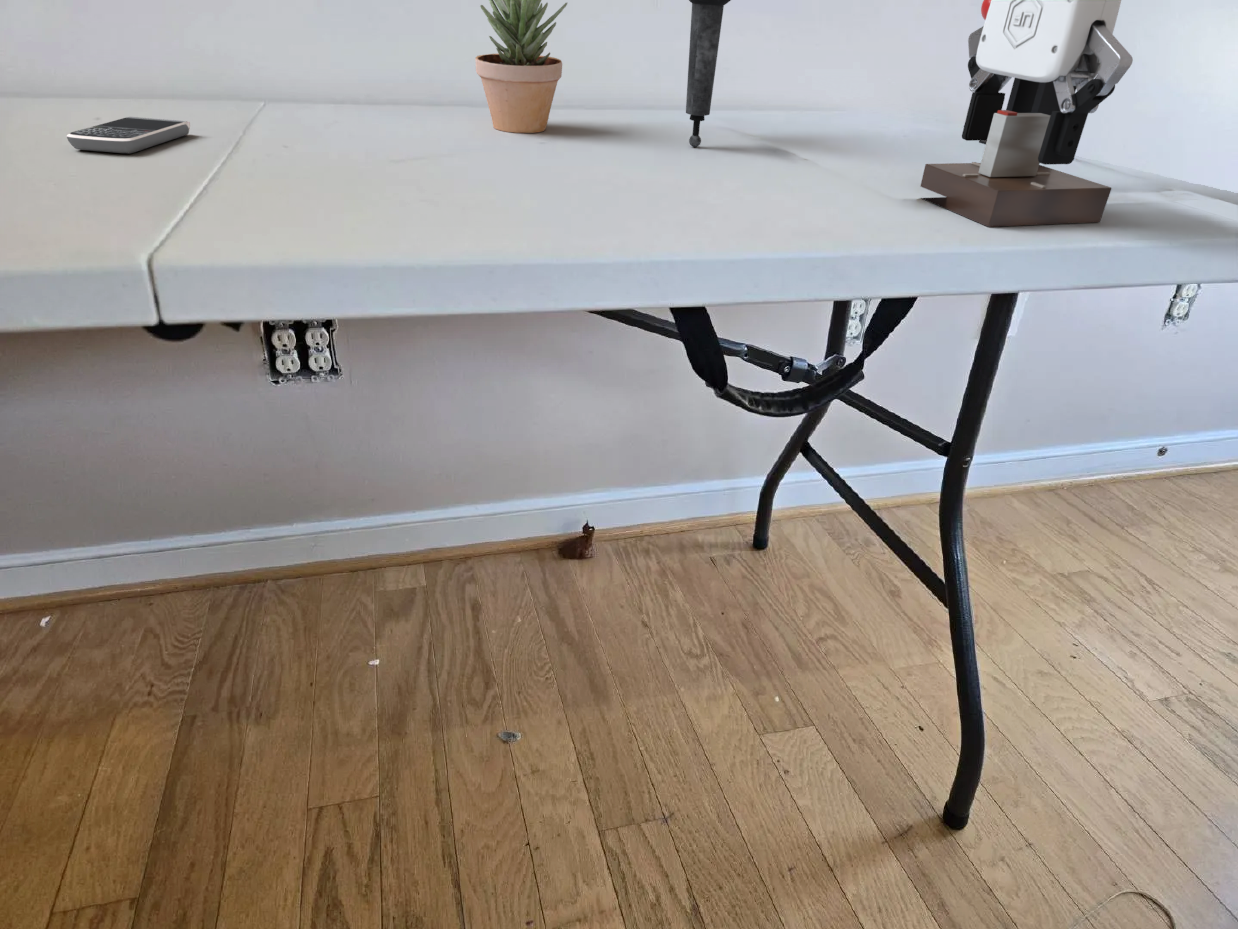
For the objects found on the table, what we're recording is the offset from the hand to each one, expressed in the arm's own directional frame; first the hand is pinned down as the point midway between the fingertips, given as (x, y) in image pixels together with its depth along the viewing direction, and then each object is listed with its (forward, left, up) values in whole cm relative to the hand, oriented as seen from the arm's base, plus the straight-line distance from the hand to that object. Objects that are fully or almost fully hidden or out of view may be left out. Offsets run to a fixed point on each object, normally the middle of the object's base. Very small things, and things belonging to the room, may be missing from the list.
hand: (1013, 150), depth 74 cm
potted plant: (+35, -39, -5) cm, 53 cm away
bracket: (-21, -21, -5) cm, 30 cm away
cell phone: (+74, -32, -5) cm, 81 cm away
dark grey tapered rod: (+18, -28, -5) cm, 34 cm away
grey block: (0, 0, -2) cm, 2 cm away
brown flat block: (-1, 0, -5) cm, 5 cm away
